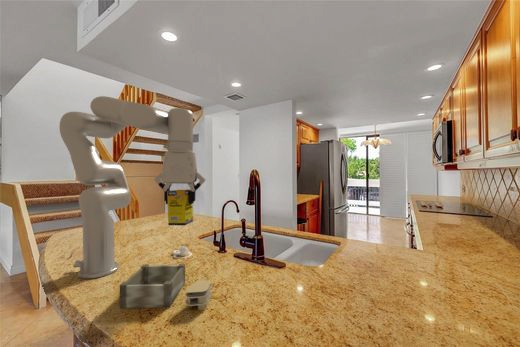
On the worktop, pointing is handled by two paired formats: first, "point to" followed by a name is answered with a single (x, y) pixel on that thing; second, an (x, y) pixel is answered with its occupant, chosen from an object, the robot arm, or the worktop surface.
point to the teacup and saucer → (181, 252)
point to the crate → (152, 286)
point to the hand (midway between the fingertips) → (180, 202)
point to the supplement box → (179, 207)
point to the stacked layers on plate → (199, 294)
